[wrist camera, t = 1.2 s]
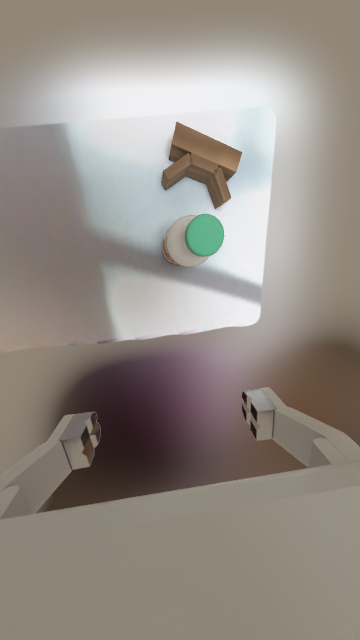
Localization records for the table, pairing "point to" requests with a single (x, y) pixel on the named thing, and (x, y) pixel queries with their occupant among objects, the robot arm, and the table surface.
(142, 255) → the table surface
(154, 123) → the table surface
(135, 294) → the table surface
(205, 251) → the milk bottle
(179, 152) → the cradle
